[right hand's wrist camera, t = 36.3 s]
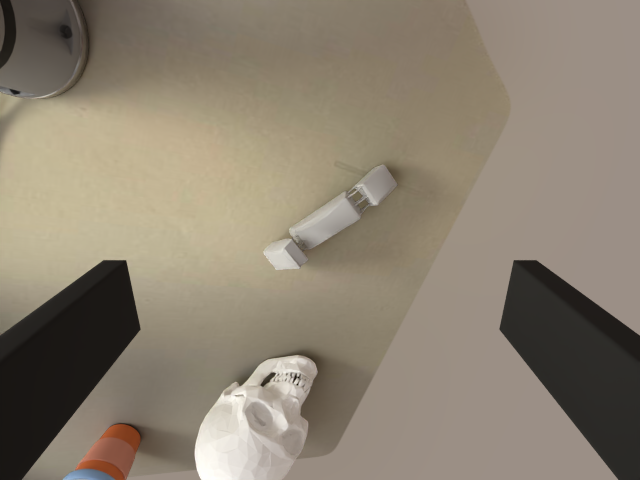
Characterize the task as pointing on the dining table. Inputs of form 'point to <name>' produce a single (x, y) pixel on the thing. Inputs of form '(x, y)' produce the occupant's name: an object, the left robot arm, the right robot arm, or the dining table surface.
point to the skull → (257, 424)
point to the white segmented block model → (329, 220)
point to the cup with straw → (109, 455)
